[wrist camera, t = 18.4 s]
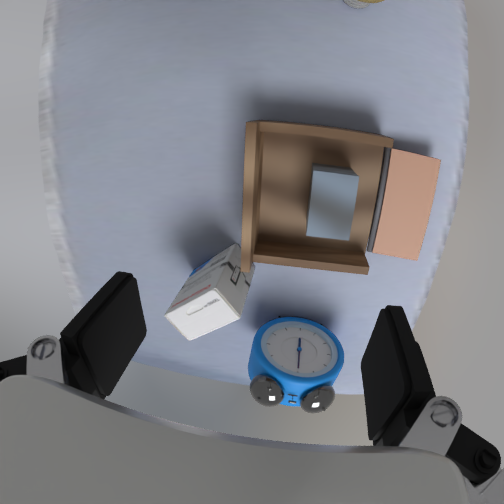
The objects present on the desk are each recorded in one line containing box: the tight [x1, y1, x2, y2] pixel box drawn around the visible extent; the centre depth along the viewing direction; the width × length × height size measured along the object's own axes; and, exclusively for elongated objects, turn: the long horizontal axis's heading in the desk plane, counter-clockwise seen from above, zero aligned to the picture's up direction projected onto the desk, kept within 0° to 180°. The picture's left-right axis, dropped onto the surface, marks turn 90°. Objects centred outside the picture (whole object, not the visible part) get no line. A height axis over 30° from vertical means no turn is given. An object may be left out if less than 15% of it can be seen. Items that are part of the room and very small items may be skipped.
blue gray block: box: [306, 163, 359, 241], centre depth 32 cm, size 7×5×5 cm, turn 178°
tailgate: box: [367, 147, 441, 261], centre depth 33 cm, size 13×1×7 cm
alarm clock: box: [248, 316, 344, 413], centre depth 40 cm, size 13×6×15 cm, turn 82°
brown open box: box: [241, 120, 394, 275], centre depth 32 cm, size 16×15×8 cm
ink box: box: [164, 243, 255, 341], centre depth 38 cm, size 9×5×12 cm, turn 126°
